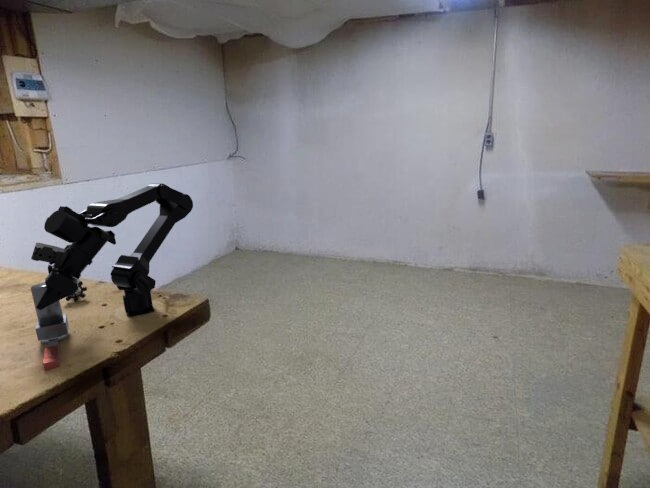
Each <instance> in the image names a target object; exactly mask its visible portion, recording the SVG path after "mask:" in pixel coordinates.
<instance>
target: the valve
mask: <svg viewBox="0 0 650 488" xmlns="http://www.w3.org/2000/svg"><path fill="white" fill-rule="evenodd" d="M73 278H75V277H73ZM75 279H77V278H75ZM77 281H78V290H77V291H76V293H75V294H74V295H73V296H71V295H70V296H67V297H65V301H66V302H69V301H70V300H71V299H73V301H74V302H78V301H79V297H81V298H82V299H83V298H85V297H86V294H85V293H83V292H86V291H88V287H87V286H84V287H82V285H83V284H84V282H83V281H82V280H81V279H80V278H79V279H77ZM79 292H80V293H79ZM78 293H79V294H78Z"/></svg>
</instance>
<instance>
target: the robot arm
mask: <svg viewBox="0 0 650 488" xmlns="http://www.w3.org/2000/svg"><path fill="white" fill-rule="evenodd" d="M152 203H157V204H158V205H159V214H158V217H157V218H156V219H155V221H154V222H153V223H152V225H151V226H150V228H149V229H148V230H147V232H146V234H145V235H144V236H143V238H142V239H141V241H140V242H139V244H137V246H136V248H135V249H134V251H133V252H132V253H130V255H128V254H127V255H126V254H121V255H120V256H119V257H118V259H117V261H116V262H115V264H113V265H111V268H112V269H111V272H110V279H111V282H112V283H113V284H114V285H115V286H116V288H117V289H118V291H123V293H124V295H122V301H123V307H124V312H125V313H126V314H127V316H128V317H133V316H138V315H139V316H140V315H143V314H148V313H151V312H154V311H155V308H154V305H153V300H152V290H154V289H155V288H156V280H155V279H154V278H153V277H151V276H149V273H150V262H151V261H152V259H153V258H154V256H155V255H156V253H157V252H158V250H159V249H160V247H161V246H162V244H163V243H164V241H165V240H166V238H167V237H168V235H169V234H170V232H171V230H172V229H173V228H174V226H175V224H176V223H179V222H180V221H181V220H183V219H185V218H186V217H187V216H188V215H189V214H190V213H191V212H192V210H193V208H194V201H193V200H192V198H191V196H190V195H189V194H187V193H184V192H181V191H179V190H176V189H175V188H172V187H170V186H168V185H167V184H165V183H153V182H152V183H149V184H148V185H147V186H145V187H142V188H140V189H138V190H134V191H133V192H131V193H128V194H125V195H124V196H121V197H119V198H116V199H115V198H114V199H110V200H109V199H108V200H107V199H106V200H102V201H97V202H92V203H90V204H88V205H87V207H86V209H85V210H83V211H81V212H76V211H74V210H73V209H72V208H70V207H69V206H66V205H65V206H64V205H61V206H59V207H58V210H56V211H54V212H53V213H52V214H51V215H49V216H48V217H47V218H46V219H45V222H44V226H43V227H44V230H45V232H46V233H48V234H50V235H52V236H54V237H56V238H59V239H60V240H63V241H64V242H67V243H69V244H67V245H66V246H65V247H64V248H63V247H58V246H55V245H50V244H47V243H43V242H35V245H34V248H33V251H32V254H31V258H30V259H31V260H32V261H35V262H39V261H40V262H45V263H48V266H47V271H48V275H47V276H46V277H45V279H44V282H45V284H46V287H47V289H46V290H45V292H44V294H43V296H42V297H41V299H40V301H39V303H38V305H37V306H36V308H37V309H39V310H42V309H44V308H45V307H47V306H49V305H51V304H53V303H55V302H57V301H59V300H60V301H61V300H62V299H66V297H67V296H74V294H75V293H76V291H77V290H78V281H77V279H80V278H81V277H82V273H83V272H84V270H85V269H86V268H87V267H88V266H91V265H92V264H93V260H94V258H95V257H96V256H97V255H98V253H99V252H100V251H101V250H102V249H103V247H104V246H105V245H106V244H107V242H108V243H110V244H112V245H117V241H116V238H115V236H116V233H115V232H114V231H112V230H104V229H102V228H100V227H105V228H114V227H117V226H118V225H120V224H121V223H122V222H123V221H125V220H126V219H127V217H128V215H130V214H131V213H133V212H134V211H137V210H139V209H142V208H144V207H146V206H147V205H149V204H152ZM89 225H91V226H89ZM73 277H75V278H77V279H75V278H73ZM76 294H77V293H76Z"/></svg>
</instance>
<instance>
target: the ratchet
mask: <svg viewBox="0 0 650 488" xmlns="http://www.w3.org/2000/svg"><path fill="white" fill-rule="evenodd" d="M68 337H69V333H68V334H66V335H62V336H57V337H53V338H48V339H44V340H40V343H41V344H42V345H47V347H45V348H44V353H43V361H42V365H43V369H44V370H43V371H48V370H52V369H57V368H59V367H60V360H61V359H60V358H61V357H60V356H61V355H60V354H61V350H60V345H59V344H60V342H63V341H64V340H66V339H68Z"/></svg>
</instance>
